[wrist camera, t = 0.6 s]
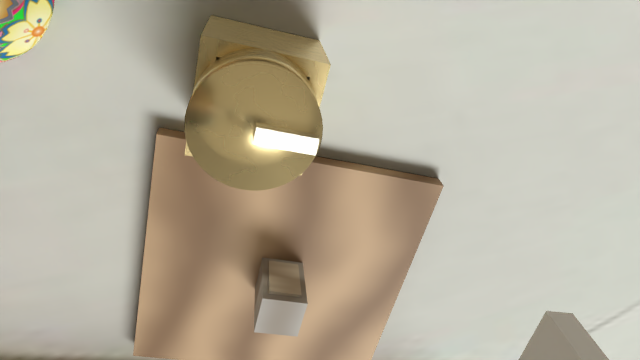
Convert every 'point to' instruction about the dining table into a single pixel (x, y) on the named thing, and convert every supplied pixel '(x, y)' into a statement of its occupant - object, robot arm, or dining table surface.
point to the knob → (255, 104)
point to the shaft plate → (275, 260)
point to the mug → (22, 25)
